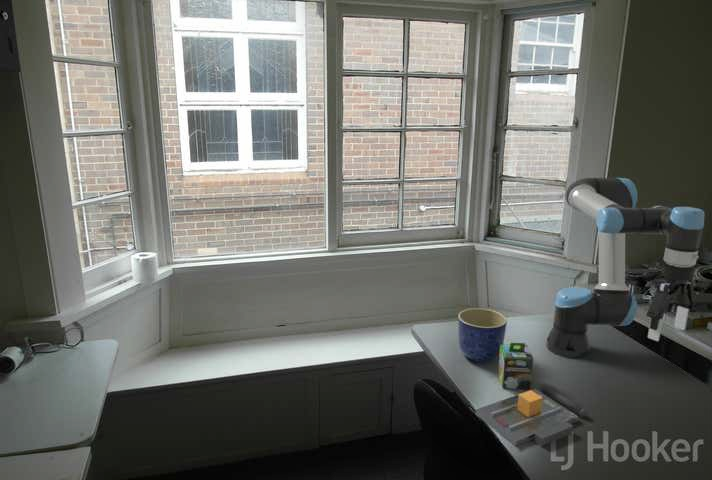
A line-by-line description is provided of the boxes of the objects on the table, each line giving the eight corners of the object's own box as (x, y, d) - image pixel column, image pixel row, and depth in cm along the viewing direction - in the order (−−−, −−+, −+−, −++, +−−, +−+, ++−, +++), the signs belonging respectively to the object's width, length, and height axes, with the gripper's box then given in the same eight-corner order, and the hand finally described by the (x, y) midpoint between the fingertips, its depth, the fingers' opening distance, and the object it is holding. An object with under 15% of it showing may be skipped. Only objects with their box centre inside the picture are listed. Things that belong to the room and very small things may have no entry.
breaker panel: (475, 414, 142) (476, 407, 142) (534, 393, 153) (535, 386, 152) (515, 446, 128) (516, 438, 128) (577, 420, 139) (578, 413, 138)
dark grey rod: (541, 393, 153) (541, 386, 152) (546, 391, 154) (547, 384, 153) (582, 419, 139) (583, 412, 139) (588, 417, 140) (588, 410, 140)
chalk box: (525, 375, 163) (528, 335, 159) (531, 390, 154) (535, 348, 150) (497, 374, 164) (500, 334, 160) (501, 388, 155) (505, 347, 151)
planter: (501, 371, 166) (504, 330, 162) (452, 362, 172) (454, 323, 168) (505, 349, 181) (509, 311, 177) (460, 342, 187) (462, 305, 183)
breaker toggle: (517, 409, 141) (518, 394, 140) (529, 404, 143) (530, 390, 142) (528, 417, 137) (529, 402, 136) (541, 412, 140) (542, 397, 138)
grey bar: (534, 441, 130) (535, 433, 130) (565, 428, 135) (566, 421, 135) (541, 446, 128) (541, 438, 128) (572, 433, 133) (573, 425, 133)
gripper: (668, 275, 124) (655, 349, 129) (717, 259, 136) (703, 328, 141) (639, 267, 130) (628, 338, 135) (688, 253, 142) (676, 319, 147)
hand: (666, 333), depth 138 cm, fingers open, 13 cm apart
